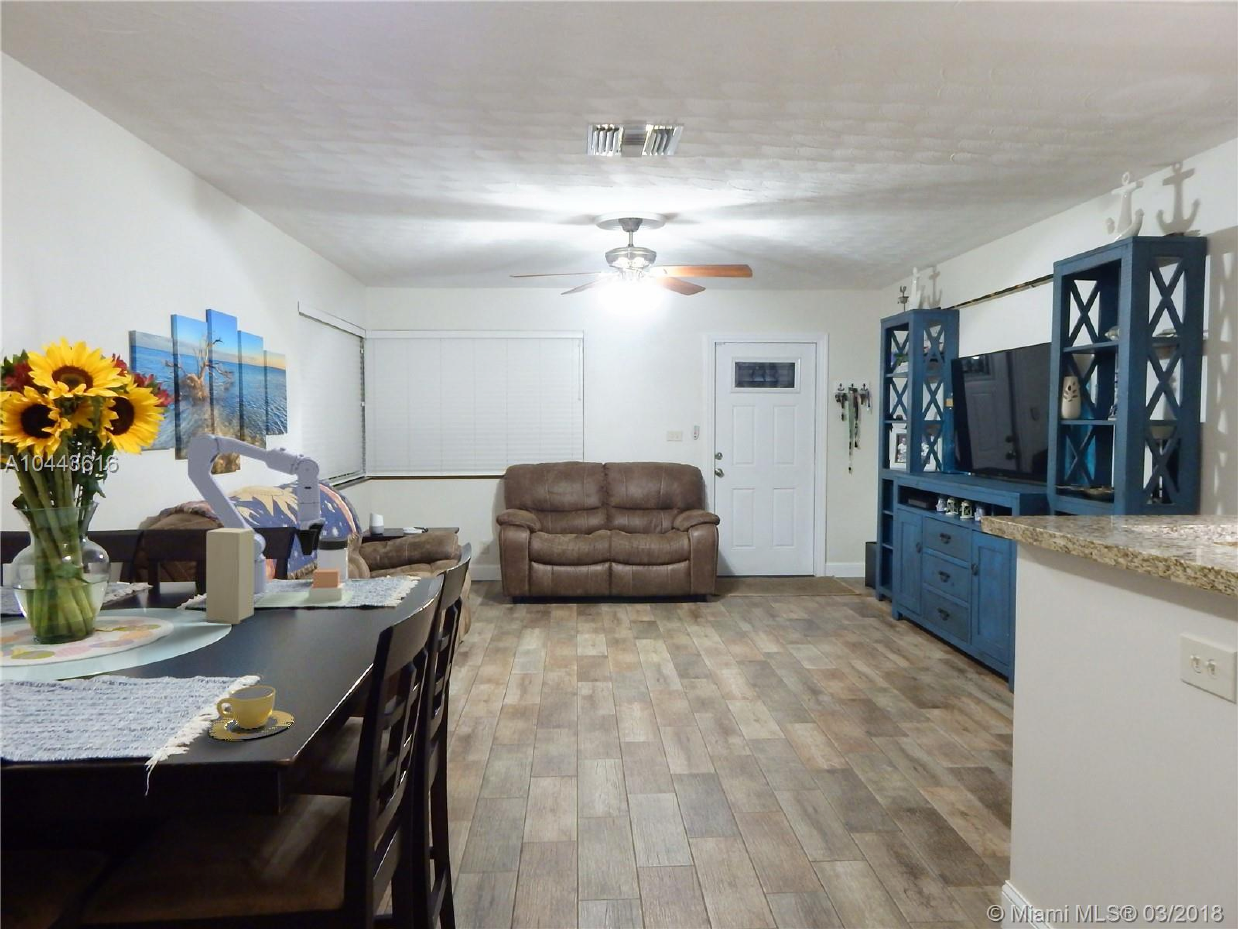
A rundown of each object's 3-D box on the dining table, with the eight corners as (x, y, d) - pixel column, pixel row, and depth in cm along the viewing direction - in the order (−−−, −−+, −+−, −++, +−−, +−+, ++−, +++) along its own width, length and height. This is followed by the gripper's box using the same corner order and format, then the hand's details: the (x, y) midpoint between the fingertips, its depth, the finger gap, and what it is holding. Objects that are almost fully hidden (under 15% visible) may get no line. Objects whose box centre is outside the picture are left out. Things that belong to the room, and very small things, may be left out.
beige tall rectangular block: (256, 616, 188) (256, 528, 187) (239, 624, 181) (238, 532, 180) (224, 615, 189) (223, 527, 188) (205, 623, 182) (204, 531, 181)
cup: (300, 711, 130) (300, 678, 130) (285, 740, 118) (284, 704, 118) (221, 715, 128) (221, 681, 127) (197, 745, 116) (196, 709, 116)
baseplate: (251, 610, 194) (251, 607, 194) (268, 595, 210) (268, 592, 210) (346, 608, 198) (346, 604, 198) (355, 594, 214) (355, 591, 214)
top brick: (313, 587, 203) (312, 572, 203) (316, 584, 207) (316, 569, 207) (337, 587, 204) (337, 571, 204) (340, 584, 208) (340, 568, 208)
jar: (346, 583, 227) (346, 541, 227) (315, 583, 226) (315, 541, 225) (349, 576, 236) (349, 536, 235) (320, 577, 234) (320, 536, 234)
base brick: (308, 600, 202) (308, 588, 202) (313, 595, 208) (313, 583, 208) (341, 599, 204) (341, 588, 203) (345, 594, 210) (345, 583, 209)
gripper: (319, 505, 209) (320, 556, 210) (329, 499, 223) (330, 547, 224) (290, 506, 207) (292, 557, 208) (302, 500, 222) (304, 548, 223)
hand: (310, 552), depth 216 cm, fingers open, 7 cm apart
